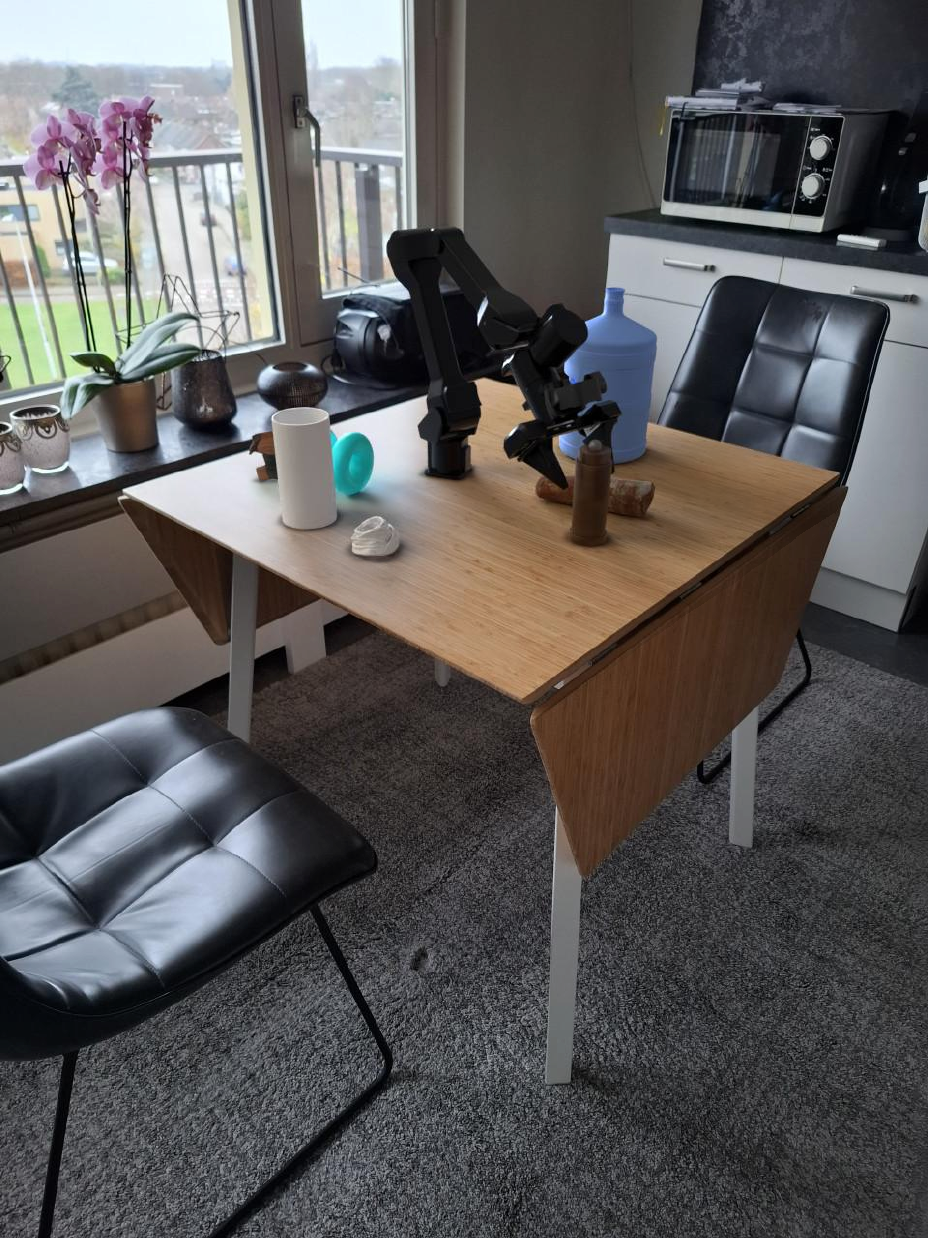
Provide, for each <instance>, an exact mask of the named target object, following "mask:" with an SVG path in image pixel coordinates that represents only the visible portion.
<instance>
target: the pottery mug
mask: <svg viewBox="0 0 928 1238" xmlns="http://www.w3.org/2000/svg"><path fill="white" fill-rule="evenodd" d="M251 439H252V443H251V444H250V446H249V448H248V451H249V453H248V455H249V456H250V455H253V453H258V454H261V456H262V459H263V462H264V465H261V466H258V467H256V468H255V470H256V474H257V478H258V481H267V480H278V473H277V464H276V455H275V446H274V438H273V430H271V431H264V432H258V433H255V434H253V435H252V436H251Z"/></svg>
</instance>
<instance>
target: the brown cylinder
mask: <svg viewBox="0 0 928 1238" xmlns="http://www.w3.org/2000/svg"><path fill="white" fill-rule="evenodd" d="M565 477H566V480H567V482H568V485H569V487H568V488H567V489H566V490H562V489H561V488H559V487H558V486H557V485H555V484H554V483H553V482H552V481H550V480H549V479H548V478H546V477H545V476H544V475H541V476H540V477H539V478H538V479H537V481H536V483H535V490H534V491H535V494H536V496H537V497H538V498H539V499H542V500H543V499H544V500H548V501H552V502H558V503H562V504H567V505H571V506H573V496H574V482H575V475H565ZM656 487H657V486H656V485H655V483H654V482H652V481H646V480H636V479H627V478H612V477H611V479H610V490H609V501H608V512H610V513H616V514H620V515H626V516H630V517H631V516H632V517H646V516H647V514H648V510H649V508H650V507H651V505H652V502H653V501H654V497H655V491H656Z"/></svg>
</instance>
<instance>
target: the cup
mask: <svg viewBox="0 0 928 1238" xmlns="http://www.w3.org/2000/svg"><path fill="white" fill-rule="evenodd" d="M330 420H331V419H330V414H329V412H328V411H326V410H324V409H321V408H317V407H293V408H286V409H283V410H282V409H281V410H279V411H277V412H275V413H273V414H272V416H271V427H272V431H273V438H274V446H275V455H276V464H277V473H278V479H277V482H278V490H279V499H280V508H281V516H282V522H283V524H284V525H285V526H287V527H288V528H292V529H297V530H317V529H321V528H326V527H328V526H330V525H332V524H333V523H335V522H336V521H337V519H338V510H337V509H338V508H337V497H336V488H335V483H334V470H333V457H332V444H331V432H330V429H331V421H330Z"/></svg>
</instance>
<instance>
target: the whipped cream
mask: <svg viewBox="0 0 928 1238" xmlns="http://www.w3.org/2000/svg"><path fill="white" fill-rule="evenodd" d="M353 531H354V533H353V534H352V536H350V539H351V541H352V542H351V546H352V547H351V553H353V554H354V555H356V556H364V557H371V556H377V557H383V556H387V555H388V556H389V555H392V554H393V553H394V552H396V551H397V550H398V548H399V546H400V536H399V534H398V531H397V530H396V529H395V528H394V526H393V525H392V524H391V523H387V520H385V518H383V517H381V516H372V517H369V518H368V519H366V520H364V521H363V522H361V524H359V526H357V527H356V528H354V529H353Z"/></svg>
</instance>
